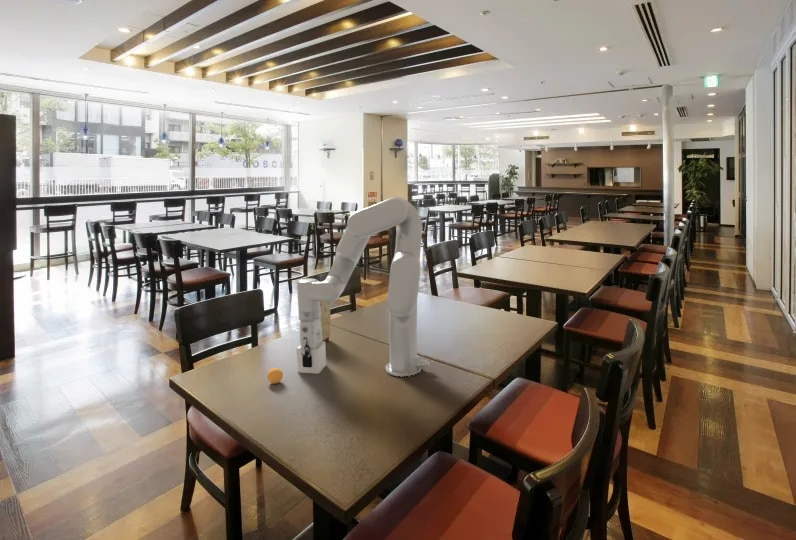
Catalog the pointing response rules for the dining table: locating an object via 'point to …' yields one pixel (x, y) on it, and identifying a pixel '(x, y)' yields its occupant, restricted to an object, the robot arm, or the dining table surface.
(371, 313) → the dining table surface
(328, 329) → the food model
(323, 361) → the off-white matte cube
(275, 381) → the ball
